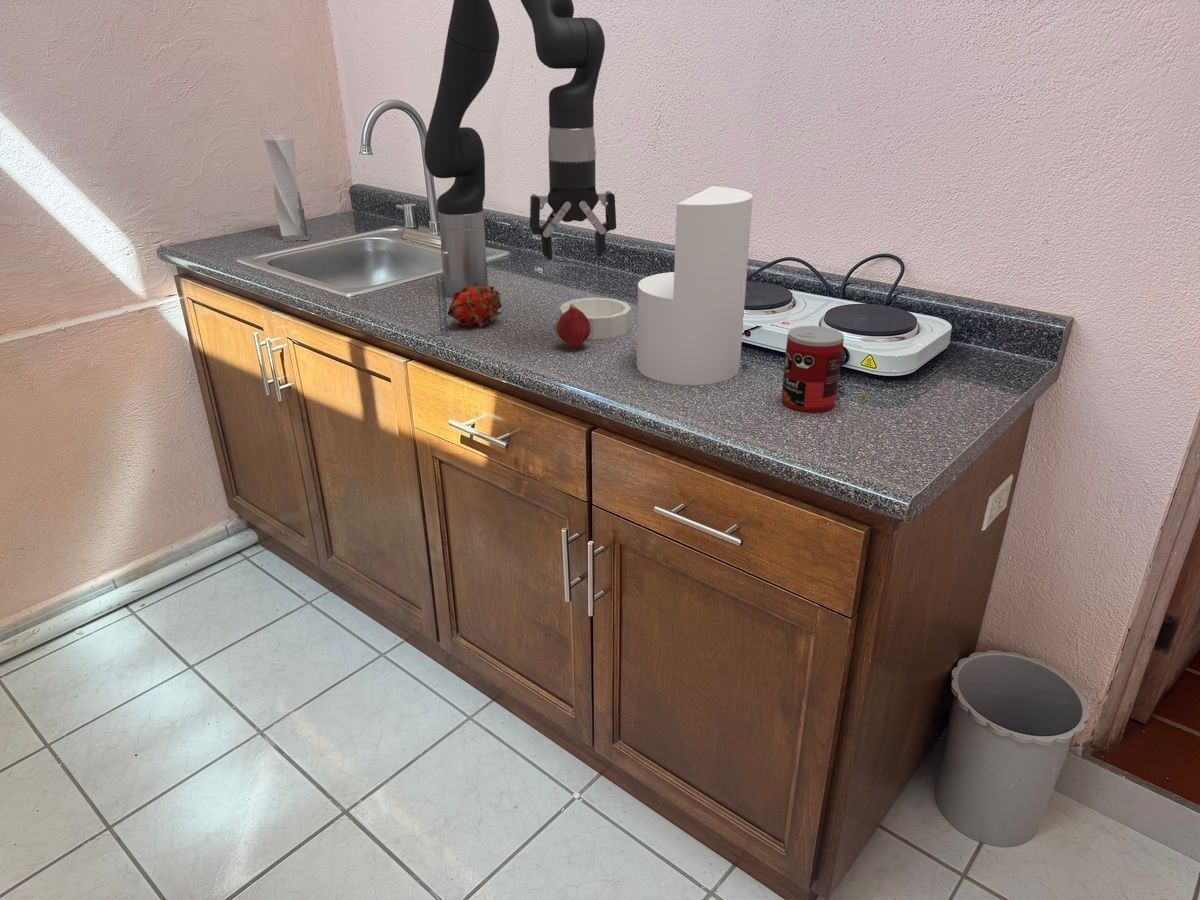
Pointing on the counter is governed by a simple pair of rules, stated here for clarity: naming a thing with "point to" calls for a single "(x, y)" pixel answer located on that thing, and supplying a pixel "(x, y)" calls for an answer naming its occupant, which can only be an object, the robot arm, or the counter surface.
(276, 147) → the skyscraper
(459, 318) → the dragon fruit
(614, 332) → the ramekin
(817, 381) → the canned food
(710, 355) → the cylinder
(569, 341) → the onion
